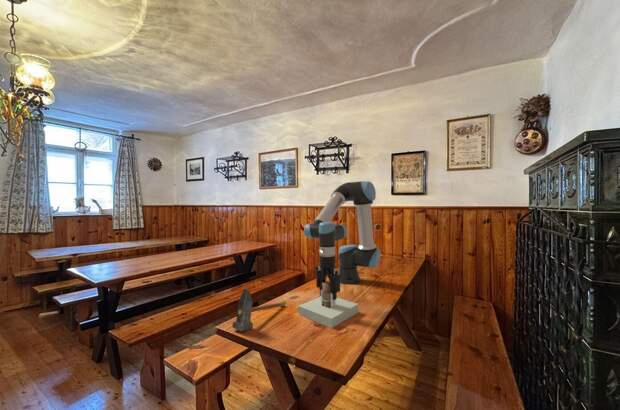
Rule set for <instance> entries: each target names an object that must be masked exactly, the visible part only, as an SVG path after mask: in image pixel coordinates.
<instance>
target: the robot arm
mask: <svg viewBox="0 0 620 410" xmlns="http://www.w3.org/2000/svg"><path fill="white" fill-rule="evenodd" d="M376 198H377V193H376V188H375V186H374V184H373V182H371V181H370V180H369V181H368V180H367V181H366V180H363V181H352V182H351V181H350V182H344V183H343V184H340V185H339V186H337V188H335V190H334V191H333V192H332V193H331V194H330V199H329V200H328V201H327V203H326V204H325V206H324V207H323V208H322V209H321V211H320V212H319V214H318V215H317V216H316V218H315V219H314V221H313V222H312V223H307V224H306V225H305V226H304V227H303V228H304V229H303V234H304V236H305V237H306V238H310V239H315V240H318V244H319V245H318V246H319V247H318V249H319V250H318V251H319V254H318V255H319V257H318V258H319V266H318V265H317V266H315V271H316V274H315V275H316V276H315V281H316V284H315V286H316V288H318V289H319V297H320V296H321V304H323V303H324V301H323V300H322V298H323V296H322V282H325V281H327V279H328V281H330V285H331V290H332V292H331V307H334V306H336V299H337V298H338V297H337V295H338V294H337V293H339V292H341V284H343V285H344V284H346V285H352V284H353V285H354V284H358V283H360V282H361V276H360V274H359V271H358V267H363V268H368V269H371V268H372V269H375V268H377V267H378V265H379V264H380V260H381V250H380V249H379V248H377V247H378V246H377V244H375V243H374V242H375V241H374V233H373V232H374V231H373V218H372V209H371V208H372V204H374V203H373V202H374V201H375V200H376ZM349 201H350V202H353V206H355V208H356V209H355V210H356V216H357V217H356V218H357V228H358V238H359V239H358V241H359V244H358V245H356V244H346V245H341V246H339V248H338V260H339V261H338V268H339V269H337V268H336V241H341V240H343V239H344V238H346V237H347V235H348V229H347V227H346V226H345V224H341V223H340V224H335V222H333V221H332V220H333V218H334V217H335V215H336V214H337V212H338V210H339V209H340V207H341V206H343V205H344V204H345V203H346V202H349Z"/></svg>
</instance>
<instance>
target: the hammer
mask: <svg viewBox="0 0 620 410" xmlns="http://www.w3.org/2000/svg"><path fill="white" fill-rule="evenodd" d="M253 301H254V300H253V299H252V295H251V292H250V289H248V288H244V289H243V291H242V293H241V295H240V297H239V299H238V304H237V305H238V307H237V313H236V319H235V321H233V322H232V328H233V329H235V330H237V331H240V332H244V331H248V330H251V329H252V328H254V327H253V326H254V323H253V322H252V321H251V320H252V319H251V318H252V313H255V312H260V311H264V310H266V311H267V310H268V309H269V310H270V309H275V308H278V307H280V308H281V307H282V308H283V307H285V306H286V305H287V303H286V300H282V301H280V302H277V303H270V304H265V305H261V306H259V305H258V306H255V307H253Z"/></svg>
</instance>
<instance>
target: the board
mask: <svg viewBox="0 0 620 410" xmlns="http://www.w3.org/2000/svg"><path fill="white" fill-rule="evenodd" d="M297 307H298V309H297V310H298V315H299V316H301V317H304V318H306V319H309V320H311V321H313V322H315V323H318V324H321V325H323V326H326V327H328V328H330V329H332V328H334V327H336V326H338V325H339V324H342V323H343V322H344V321H346V320H348V319H350V318H352V317H353V316H355V315H357V314H358V313H359V303H356V302H353V301H349V300H346V299H343V298H340V297H337V299H336V306H334V307H330V308H327V307H324V303H323V304H321V296H320V295H319V296H318V297H316V298H314V299H311V300H309V301H307V302H306V301H305V303H302V304H299V305H298V306H297Z"/></svg>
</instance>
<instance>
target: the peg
mask: <svg viewBox="0 0 620 410" xmlns="http://www.w3.org/2000/svg"><path fill="white" fill-rule="evenodd" d="M331 292H332V290H331V285H330V281H329V280H328V281H327V280H326V281H325V282H322V296H323V298H322V300H323V301H324V307H327V308H330V307H331Z"/></svg>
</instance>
